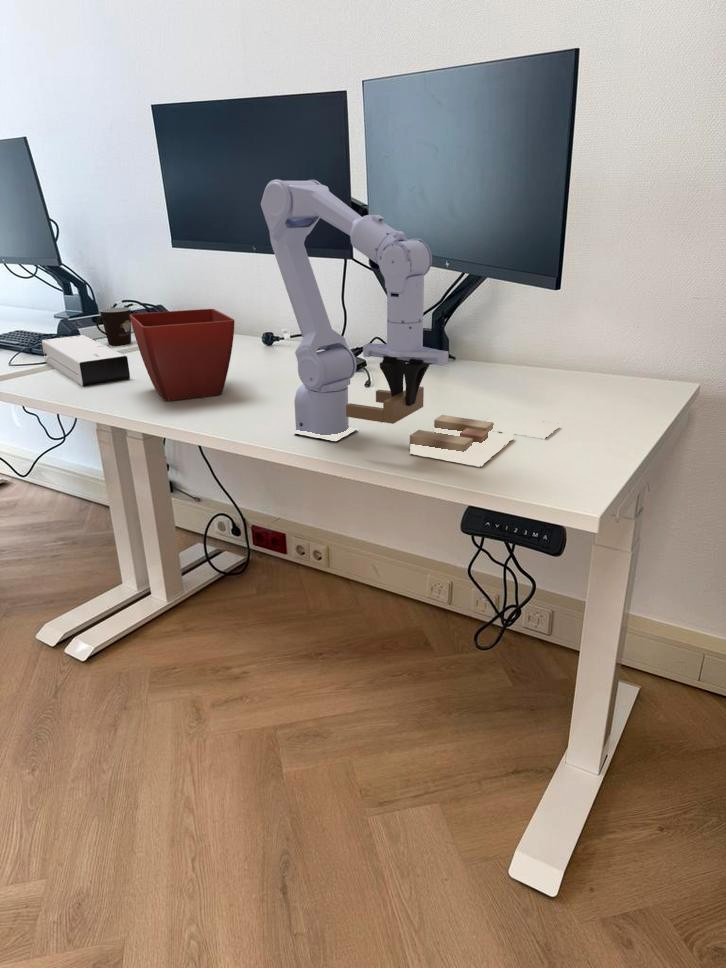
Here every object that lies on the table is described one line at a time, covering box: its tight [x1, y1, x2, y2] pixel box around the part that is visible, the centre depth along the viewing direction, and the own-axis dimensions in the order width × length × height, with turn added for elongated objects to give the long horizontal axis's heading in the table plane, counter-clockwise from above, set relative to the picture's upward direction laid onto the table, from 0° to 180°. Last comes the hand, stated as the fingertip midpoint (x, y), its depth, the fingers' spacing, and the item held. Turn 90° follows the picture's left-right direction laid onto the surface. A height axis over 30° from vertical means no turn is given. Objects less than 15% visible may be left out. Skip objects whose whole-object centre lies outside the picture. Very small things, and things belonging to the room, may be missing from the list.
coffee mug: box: [95, 307, 132, 347], centre depth 208 cm, size 12×9×10 cm
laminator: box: [41, 334, 131, 387], centre depth 178 cm, size 34×12×6 cm, turn 37°
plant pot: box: [130, 308, 235, 402], centre depth 156 cm, size 19×19×17 cm
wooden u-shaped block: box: [409, 414, 494, 452], centre depth 123 cm, size 14×16×3 cm
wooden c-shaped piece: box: [346, 385, 425, 425], centre depth 119 cm, size 9×11×4 cm
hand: (404, 403), depth 117 cm, fingers closed on wooden c-shaped piece, 2 cm apart
